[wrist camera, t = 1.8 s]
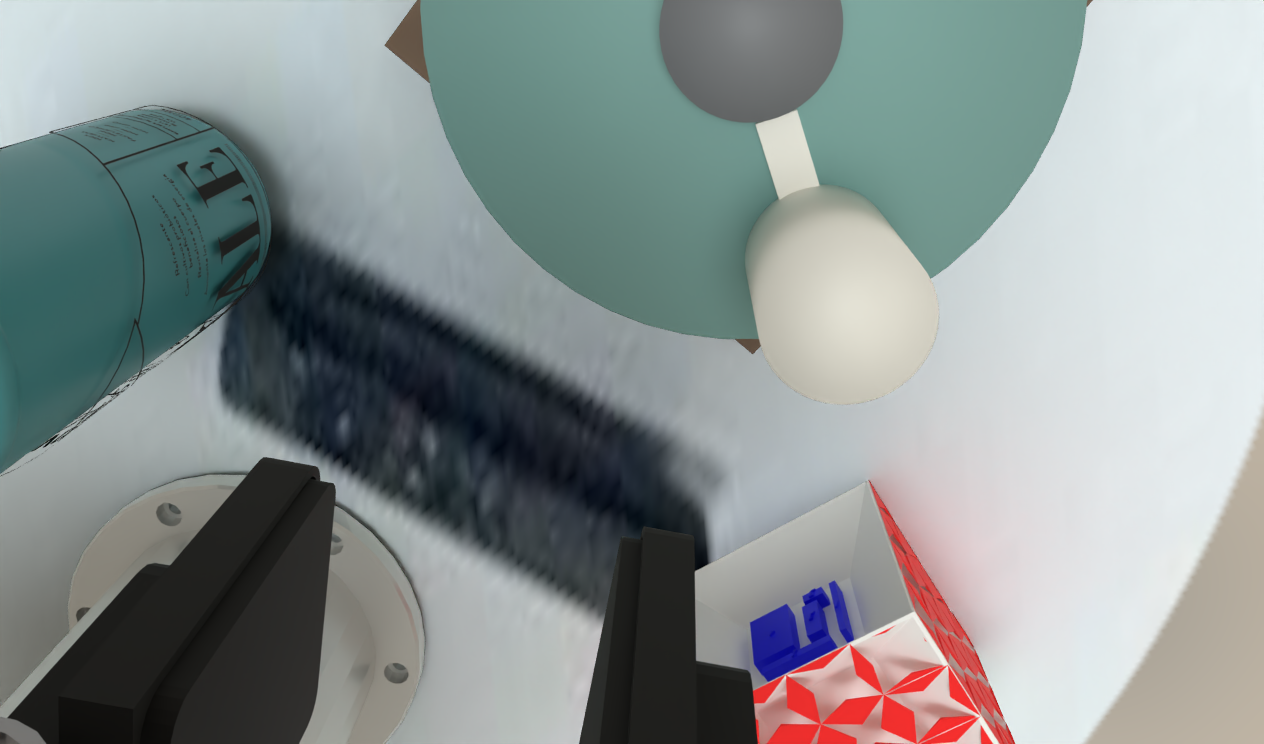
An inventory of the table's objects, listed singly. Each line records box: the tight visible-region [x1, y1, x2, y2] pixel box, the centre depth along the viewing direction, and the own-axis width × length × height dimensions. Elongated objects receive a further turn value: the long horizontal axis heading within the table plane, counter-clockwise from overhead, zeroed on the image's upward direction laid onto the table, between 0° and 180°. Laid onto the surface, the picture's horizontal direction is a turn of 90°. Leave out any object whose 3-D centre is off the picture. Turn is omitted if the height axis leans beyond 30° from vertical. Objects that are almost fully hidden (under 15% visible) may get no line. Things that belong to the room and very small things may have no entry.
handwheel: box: [420, 0, 1087, 405], centre depth 23 cm, size 15×15×6 cm
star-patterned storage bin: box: [695, 480, 1015, 744], centre depth 34 cm, size 8×8×8 cm
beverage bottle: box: [0, 105, 272, 476], centre depth 24 cm, size 6×7×20 cm
